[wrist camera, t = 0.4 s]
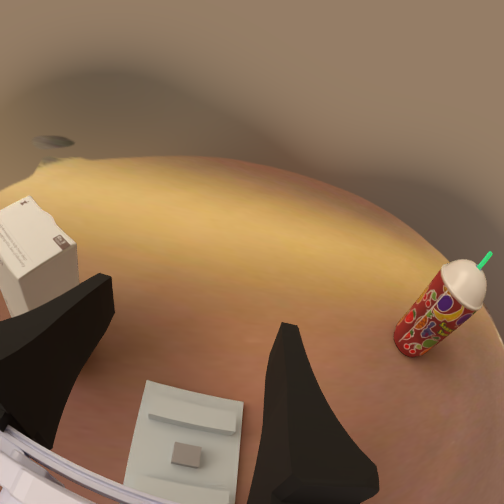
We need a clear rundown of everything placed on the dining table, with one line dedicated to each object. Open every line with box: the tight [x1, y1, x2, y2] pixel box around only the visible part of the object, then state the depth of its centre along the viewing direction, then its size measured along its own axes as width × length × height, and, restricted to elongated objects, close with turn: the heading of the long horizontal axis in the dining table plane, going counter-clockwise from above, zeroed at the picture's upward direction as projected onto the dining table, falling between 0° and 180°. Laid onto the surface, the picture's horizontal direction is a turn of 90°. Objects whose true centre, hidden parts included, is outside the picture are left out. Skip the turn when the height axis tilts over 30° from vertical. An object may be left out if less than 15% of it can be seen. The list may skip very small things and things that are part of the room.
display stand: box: [120, 380, 244, 504], centre depth 23 cm, size 14×10×3 cm
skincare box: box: [0, 196, 80, 317], centre depth 23 cm, size 8×6×15 cm
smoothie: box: [394, 251, 493, 357], centre depth 37 cm, size 8×8×20 cm
